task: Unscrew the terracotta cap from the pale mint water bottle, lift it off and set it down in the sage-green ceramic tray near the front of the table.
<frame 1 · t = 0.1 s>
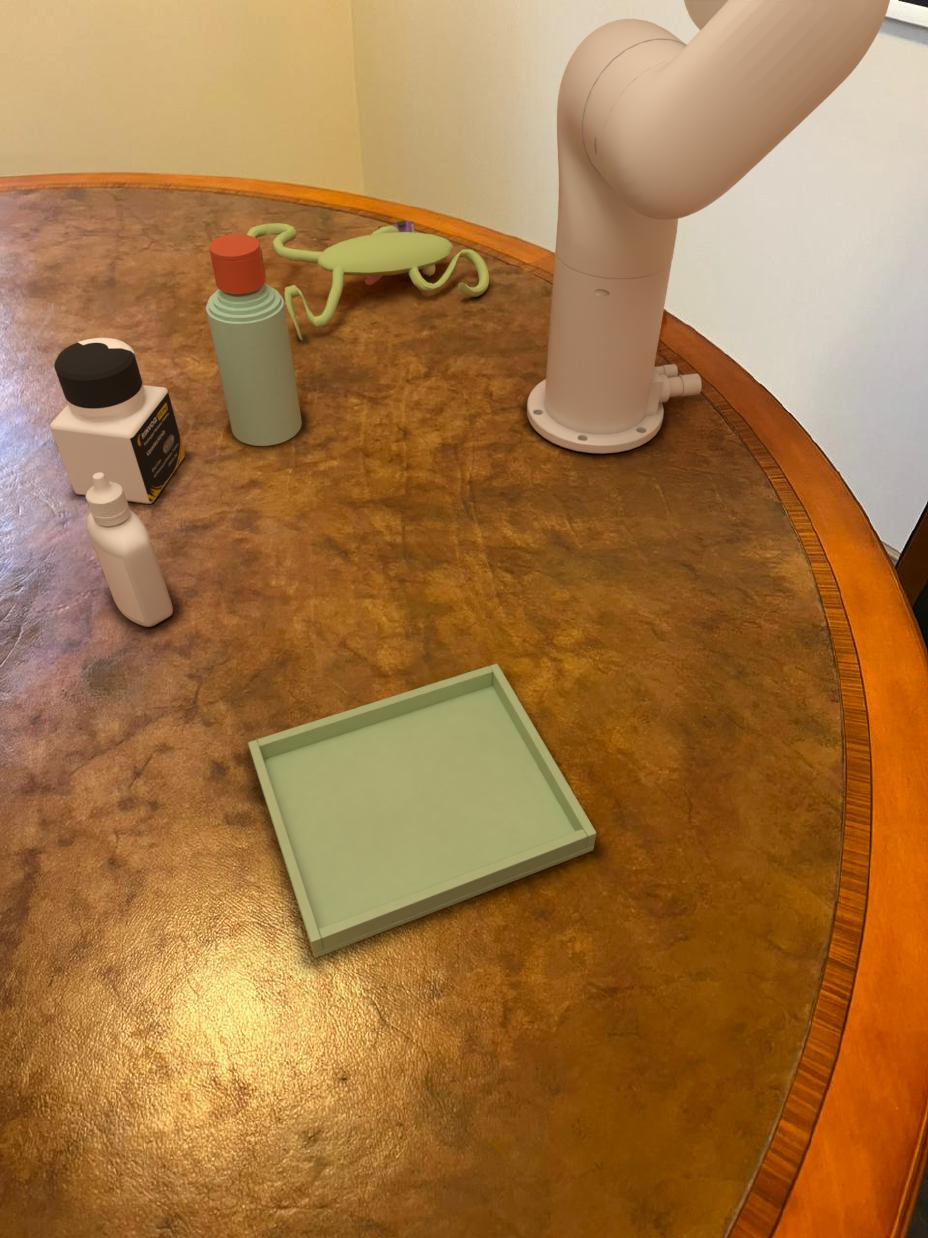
medicine bottle: (132, 477, 81), on the table
cap: (235, 249, 74), point 17 cm above the table, screwed on, not yet turned
figurine: (357, 289, 105), on the table
eye dropper bottle: (144, 606, 70), on the table
bottle: (266, 425, 86), on the table
tray: (416, 803, 58), on the table
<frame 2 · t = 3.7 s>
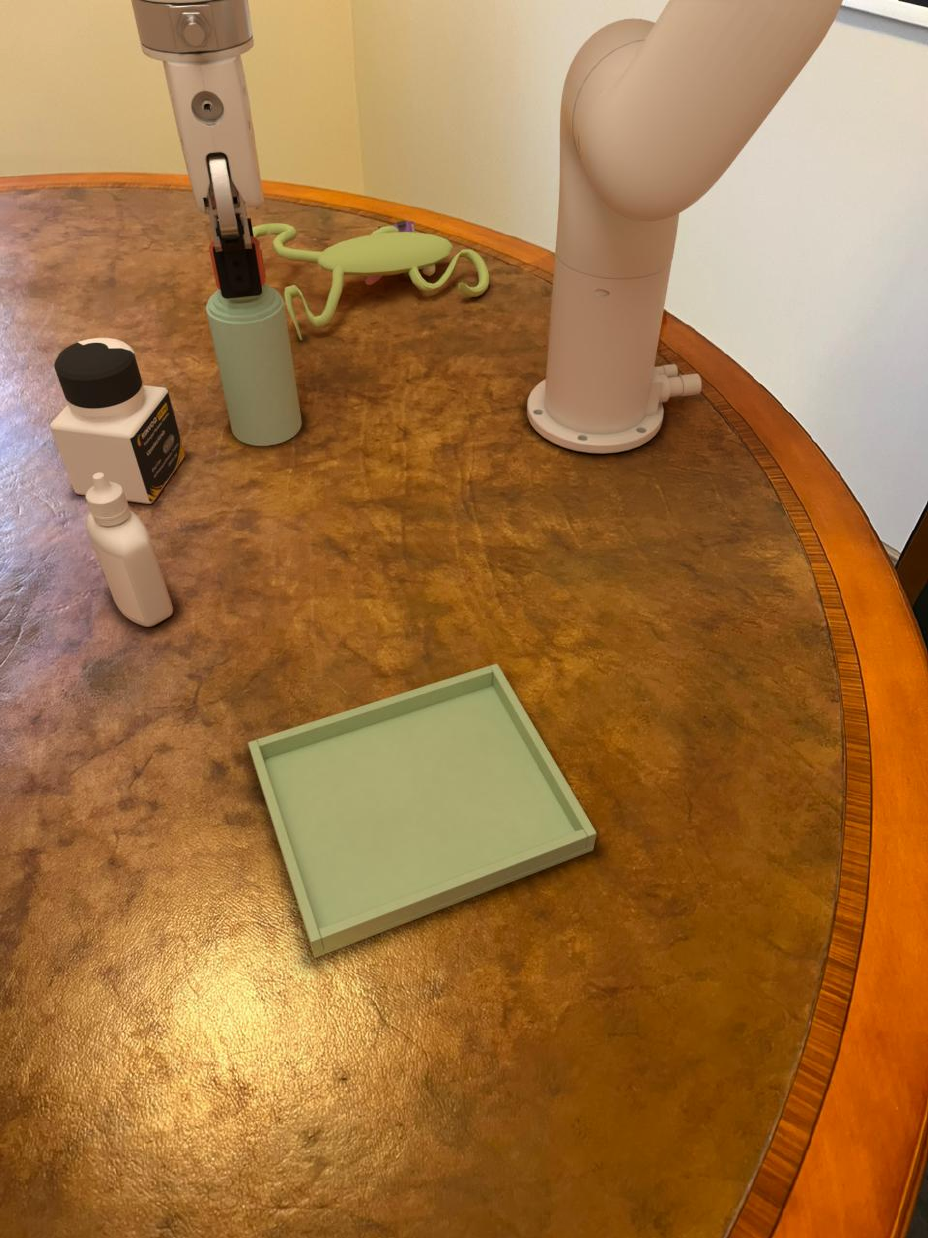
hand: (240, 279, 76), 14 cm above the table, tool pointing down, fingers closed on cap, 3 cm apart
cap: (235, 249, 74), point 17 cm above the table, screwed on, not yet turned, touching gripper
everything else where it was.
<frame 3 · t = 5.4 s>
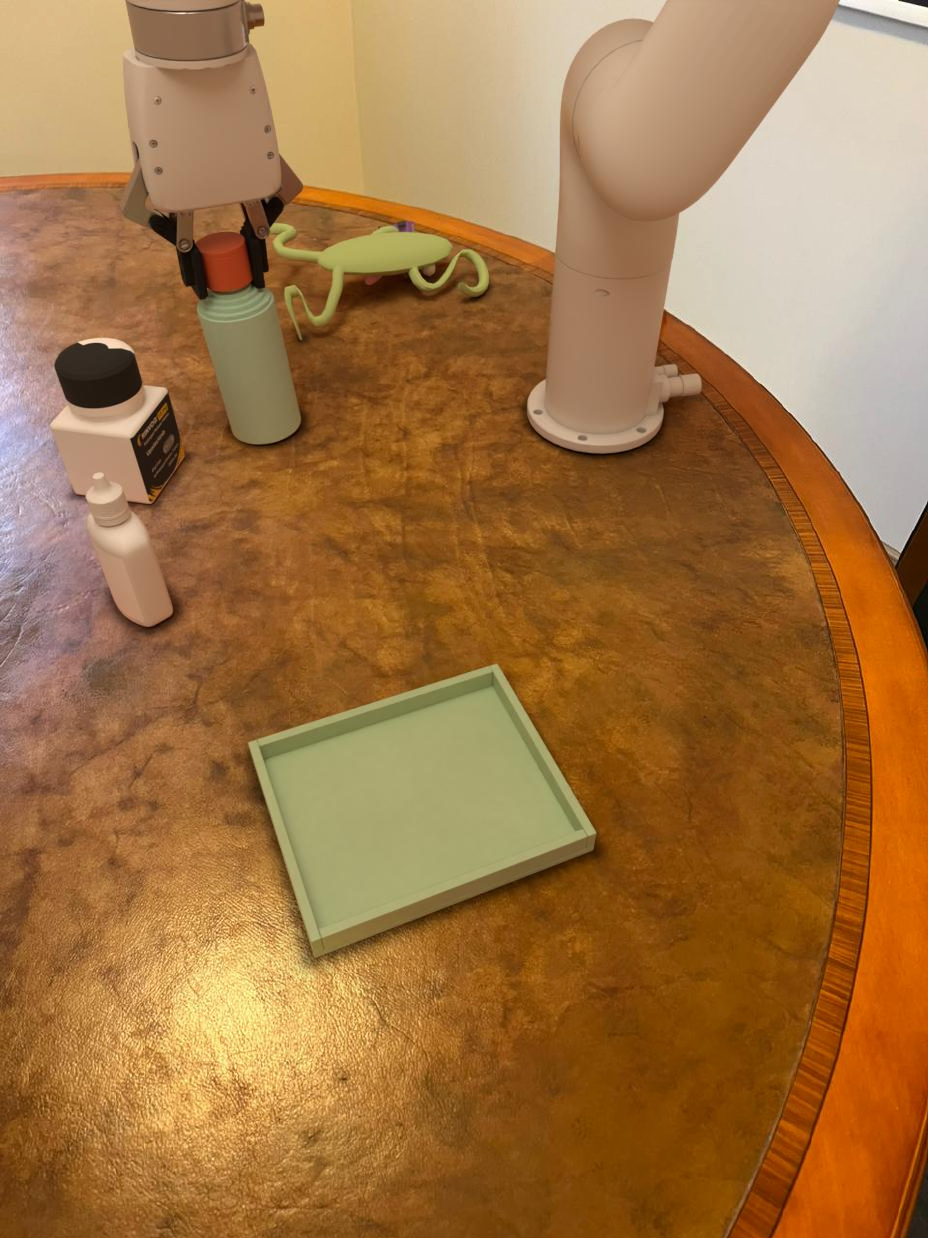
hand: (227, 284, 76), 14 cm above the table, tool pointing down, fingers closed on cap, 4 cm apart
cap: (220, 247, 74), point 17 cm above the table, turned 105° so far, risen 0.1 cm, still on its thread, touching gripper
bottle: (266, 424, 86), on the table, touching gripper
everything else where it was.
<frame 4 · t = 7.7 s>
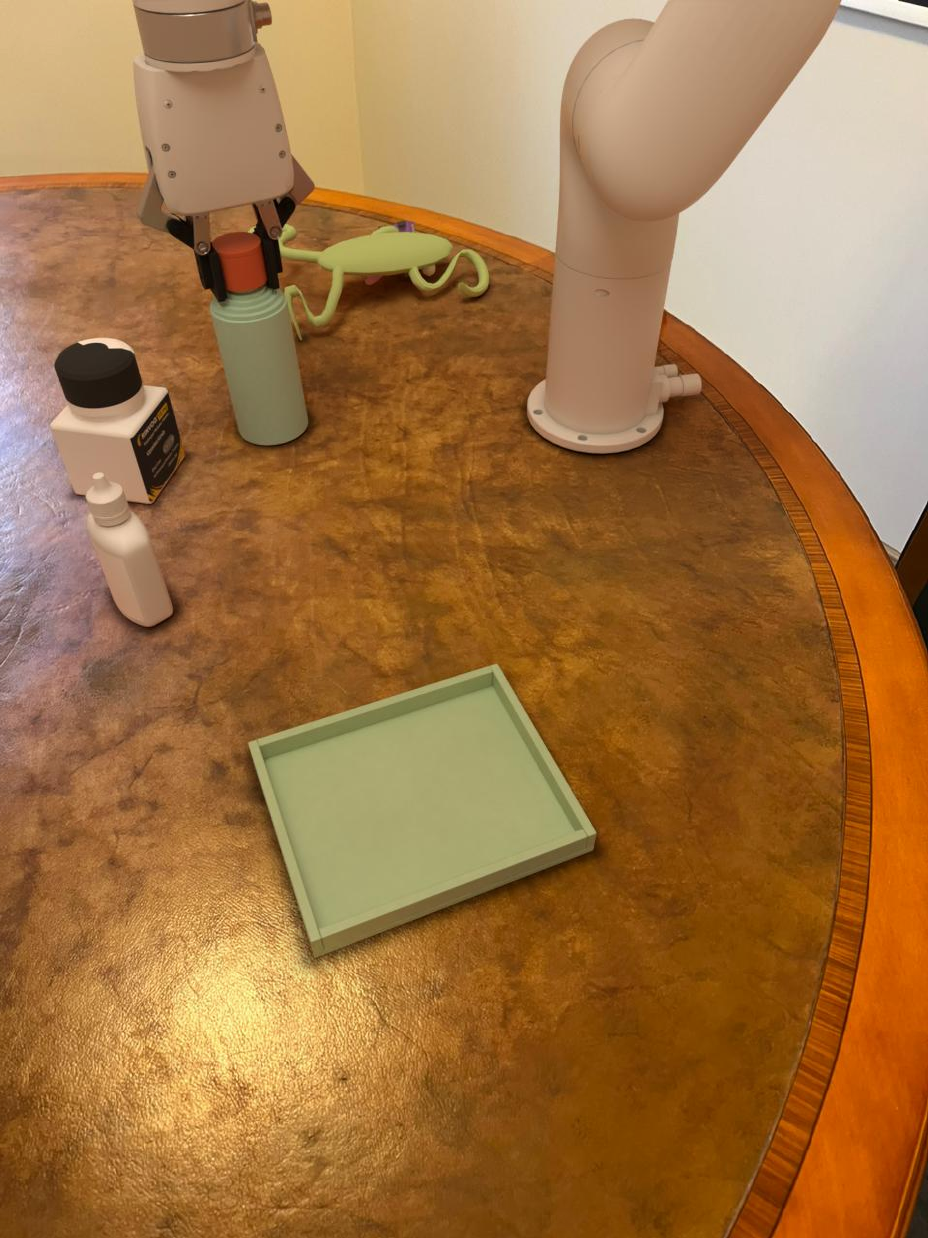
hand: (243, 286, 76), 14 cm above the table, tool pointing down, fingers closed on cap, 3 cm apart
cap: (236, 247, 74), point 17 cm above the table, turned 104° so far, risen 0.1 cm, still on its thread, touching gripper
bottle: (273, 425, 86), on the table
everything else where it was.
when the fingers open (14 cm above the table, at t = 13.6 s): cap moves 2 cm, point 17 cm above the table.
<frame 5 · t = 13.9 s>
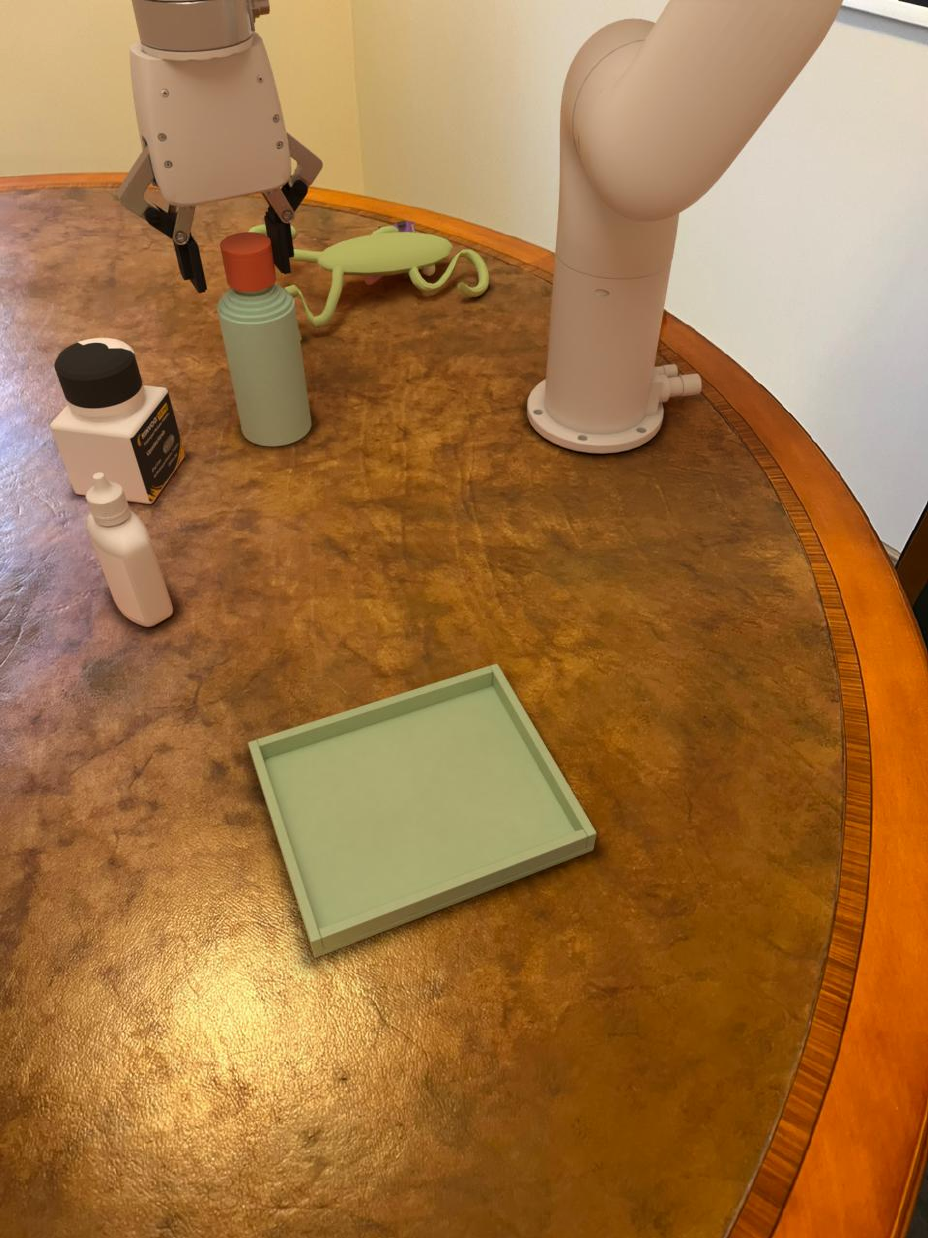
hand: (239, 274, 75), 15 cm above the table, tool pointing down, fingers open, 6 cm apart
cap: (246, 247, 74), point 17 cm above the table, turned 212° so far, risen 0.2 cm, still on its thread
everything else where it was.
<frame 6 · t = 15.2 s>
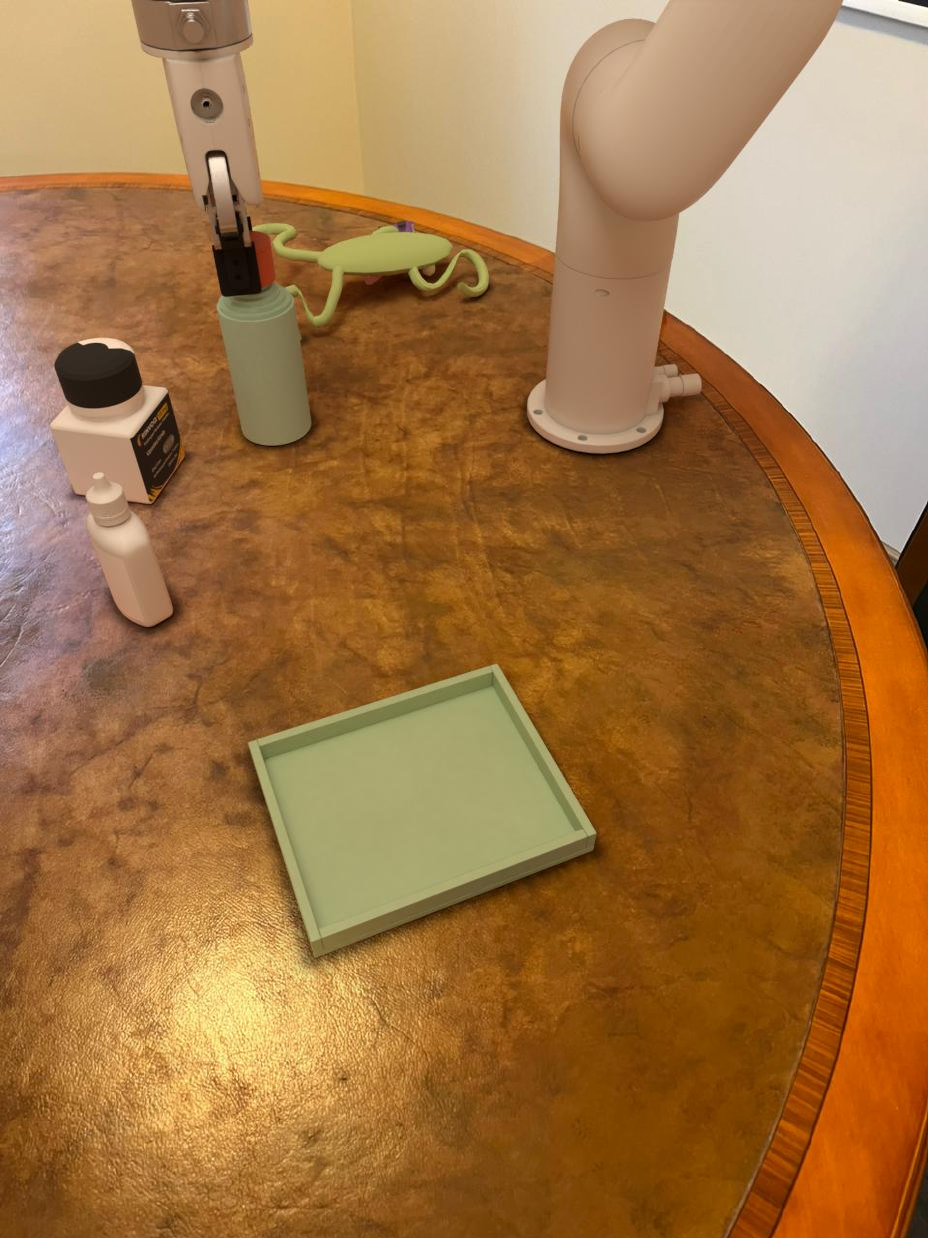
hand: (240, 277, 75), 14 cm above the table, tool pointing down, fingers closed on cap, 3 cm apart
cap: (245, 245, 74), point 17 cm above the table, turned 212° so far, risen 0.2 cm, still on its thread, touching gripper
everything else where it was.
when the fingers open (15 cm above the table, at t = 16.3 s): cap moves 2 cm, point 17 cm above the table.
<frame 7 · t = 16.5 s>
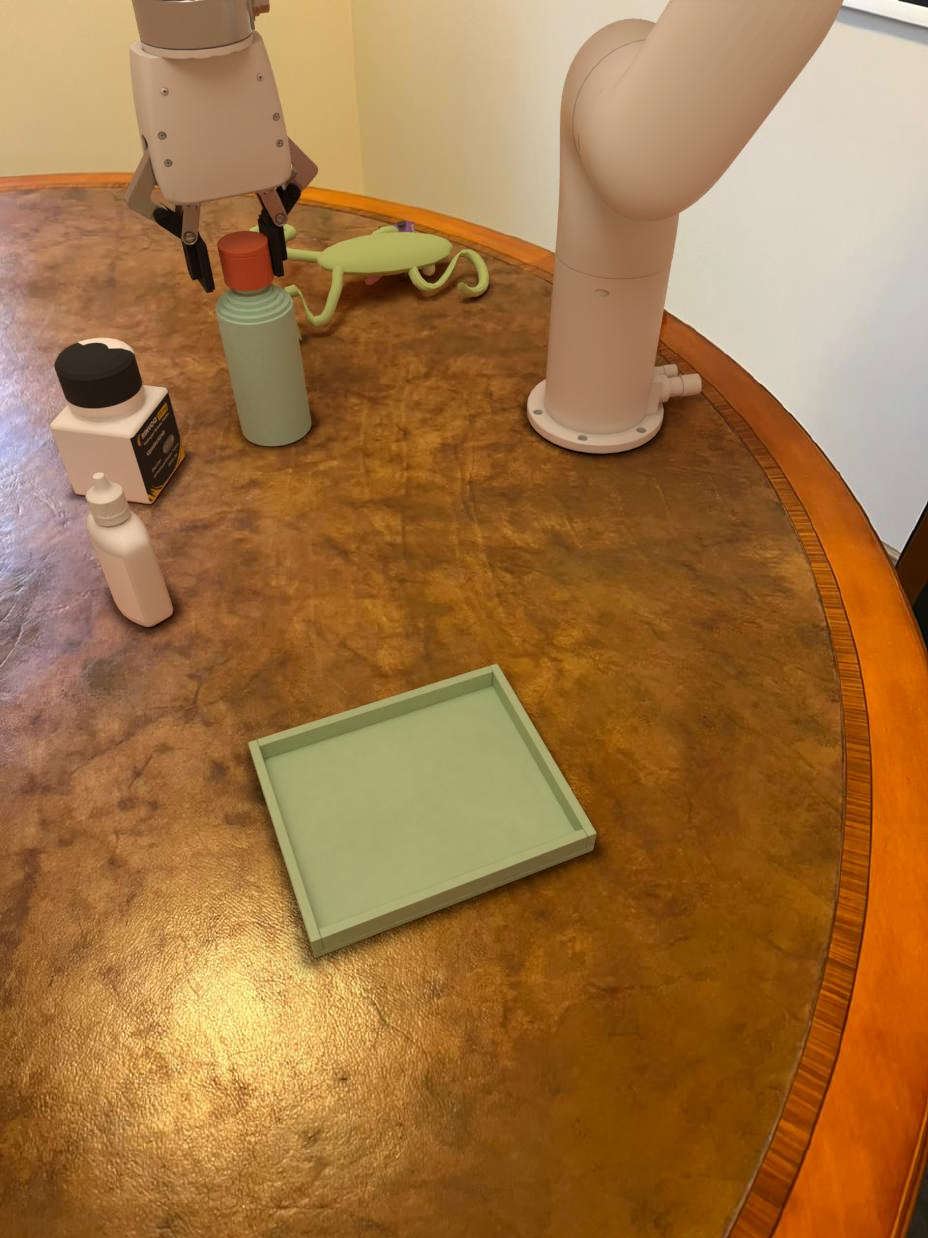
hand: (240, 275, 75), 14 cm above the table, tool pointing down
cap: (243, 246, 73), point 17 cm above the table, turned 319° so far, risen 0.3 cm, still on its thread, touching gripper
everything else where it was.
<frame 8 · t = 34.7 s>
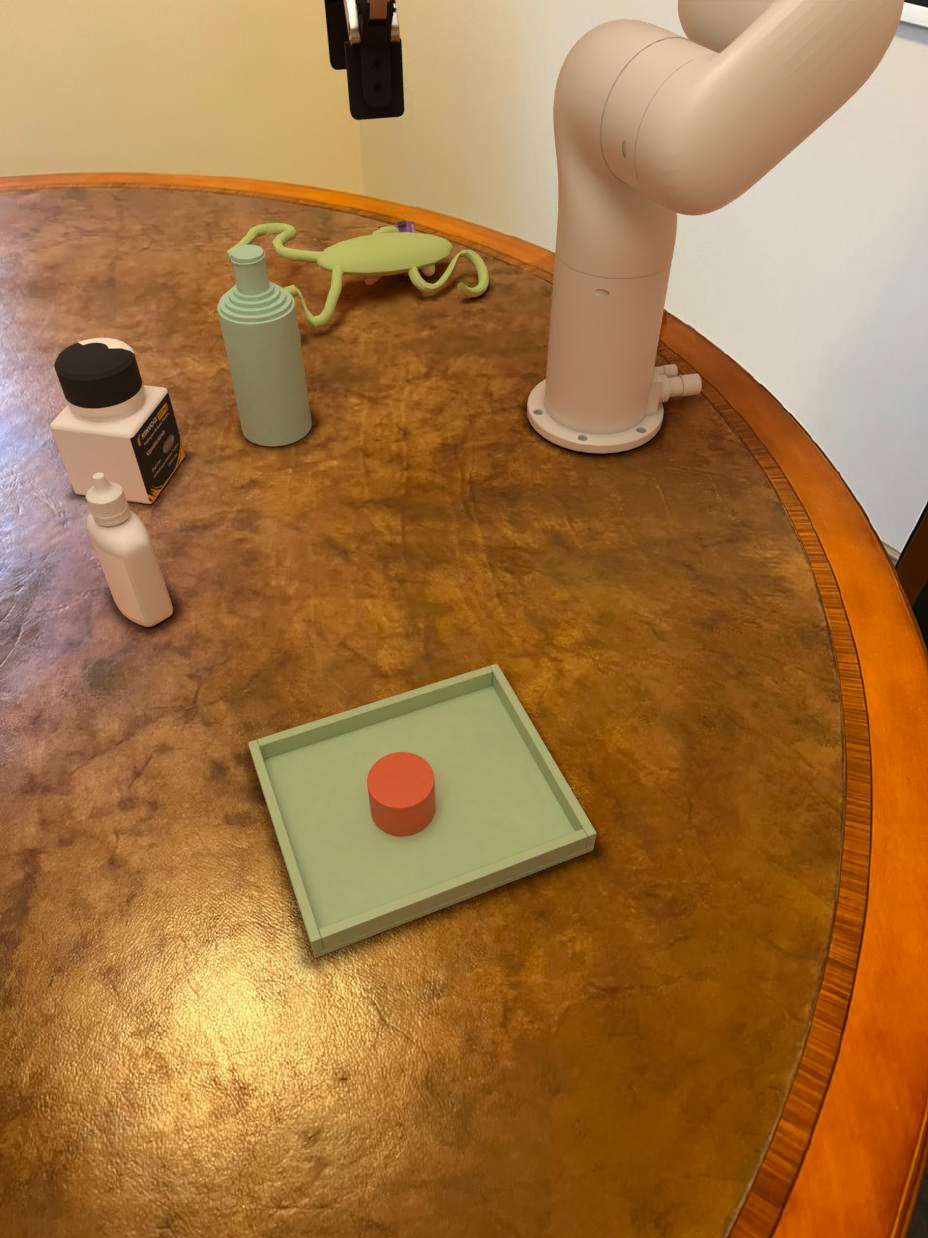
hand: (365, 90, 59), 30 cm above the table, tool pointing down, fingers open, 9 cm apart
cap: (401, 783, 55), point 3 cm above the table, off its thread, touching tray
everything else where it was.
at the end: cap inside the target area on the tray (1.0 cm from its centre), point 3.2 cm above the tray's base; the gripper is holding nothing; bottle tilted 0° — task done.
